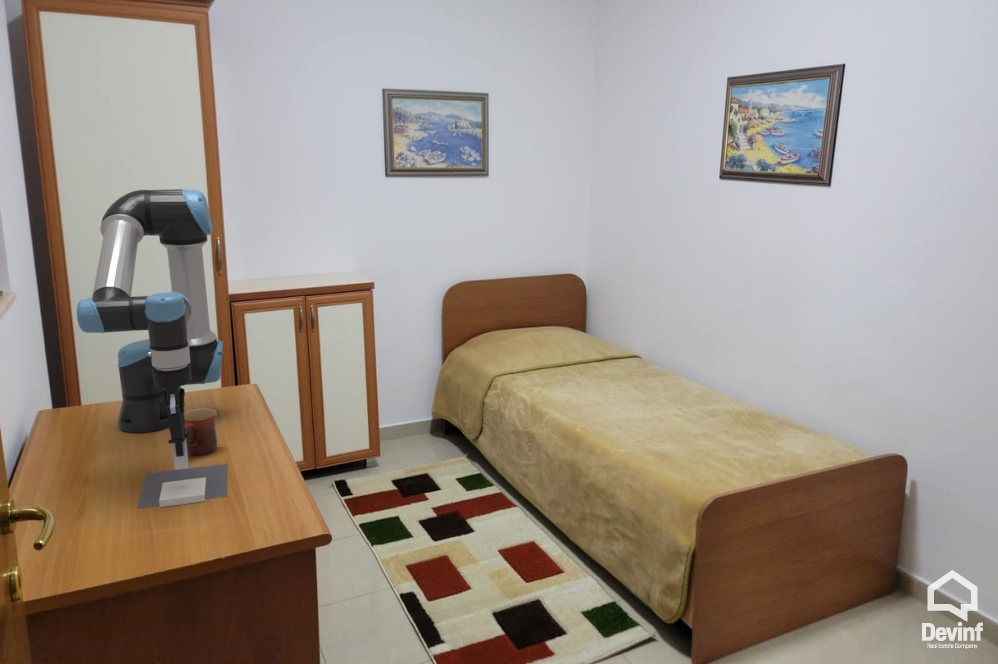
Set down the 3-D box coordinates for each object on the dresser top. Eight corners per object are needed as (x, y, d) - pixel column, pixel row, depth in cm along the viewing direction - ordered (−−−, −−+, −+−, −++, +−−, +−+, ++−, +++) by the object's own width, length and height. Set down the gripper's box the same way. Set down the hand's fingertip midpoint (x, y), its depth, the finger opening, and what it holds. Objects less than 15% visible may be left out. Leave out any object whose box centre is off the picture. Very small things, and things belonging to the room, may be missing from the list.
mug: (197, 443, 190) (193, 406, 187) (227, 446, 188) (224, 409, 186) (168, 462, 178) (163, 423, 176) (200, 466, 177) (196, 426, 174)
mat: (146, 475, 171) (146, 473, 171) (227, 465, 177) (227, 463, 177) (137, 510, 155) (137, 508, 155) (227, 498, 161) (226, 496, 161)
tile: (162, 482, 163) (159, 500, 155) (205, 477, 166) (204, 494, 158) (163, 489, 164) (159, 507, 155) (206, 483, 167) (205, 501, 158)
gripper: (155, 359, 160) (165, 458, 166) (148, 376, 148) (160, 482, 154) (191, 356, 162) (201, 454, 168) (188, 373, 150) (198, 477, 156)
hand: (181, 467), depth 161 cm, fingers closed
